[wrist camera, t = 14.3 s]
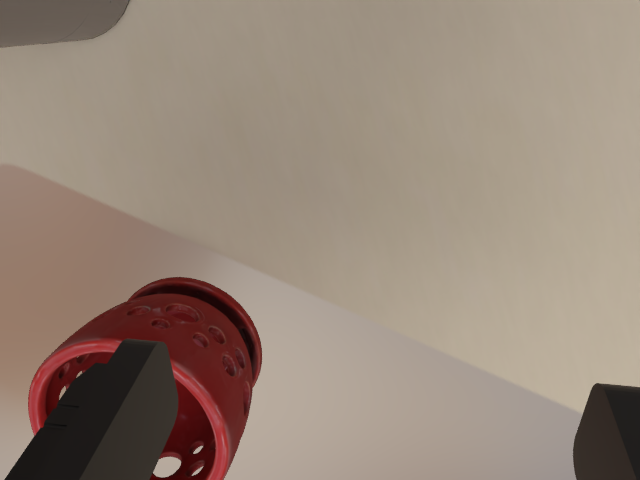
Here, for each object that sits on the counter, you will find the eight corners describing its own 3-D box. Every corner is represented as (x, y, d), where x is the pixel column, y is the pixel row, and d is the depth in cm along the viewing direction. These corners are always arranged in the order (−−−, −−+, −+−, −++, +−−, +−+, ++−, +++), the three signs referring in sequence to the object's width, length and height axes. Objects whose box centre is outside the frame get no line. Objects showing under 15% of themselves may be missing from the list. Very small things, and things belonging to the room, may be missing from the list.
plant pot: (257, 423, 47) (200, 549, 36) (113, 365, 48) (15, 471, 37) (301, 295, 41) (250, 398, 31) (137, 232, 42) (31, 311, 31)
